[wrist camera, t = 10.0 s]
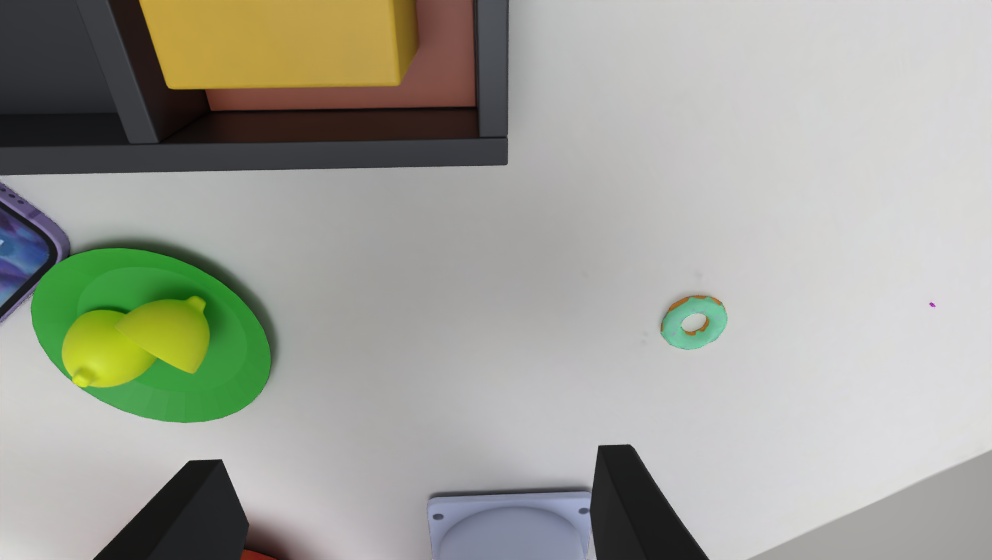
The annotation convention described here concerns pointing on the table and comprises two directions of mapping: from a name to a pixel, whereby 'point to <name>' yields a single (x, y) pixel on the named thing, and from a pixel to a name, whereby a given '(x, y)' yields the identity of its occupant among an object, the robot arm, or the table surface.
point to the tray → (240, 100)
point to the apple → (254, 556)
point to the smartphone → (25, 249)
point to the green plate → (151, 335)
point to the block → (282, 42)
